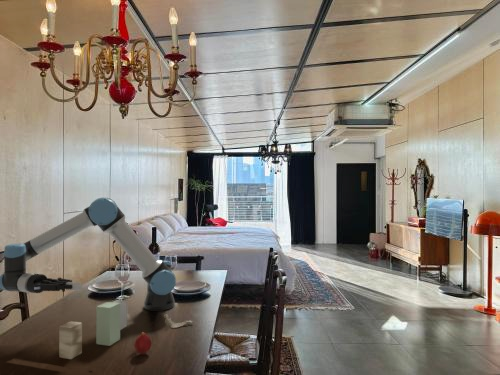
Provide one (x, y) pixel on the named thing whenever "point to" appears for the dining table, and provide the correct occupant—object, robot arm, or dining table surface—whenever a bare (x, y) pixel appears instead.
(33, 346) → the dining table surface
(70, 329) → the birch block
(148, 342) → the red pomegranate
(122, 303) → the grey block
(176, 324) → the jawbone
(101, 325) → the pale green block
